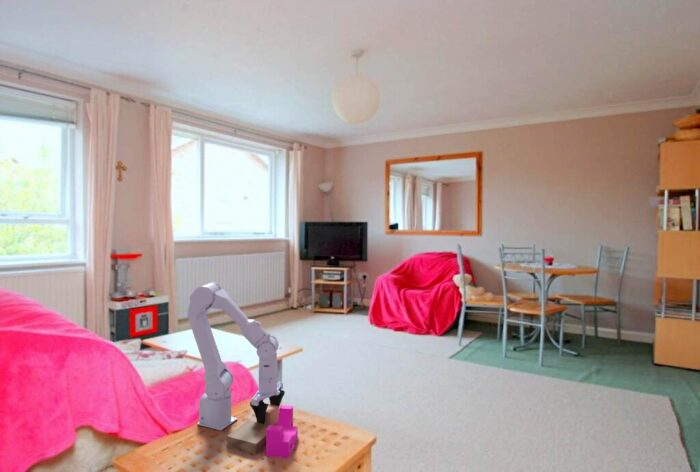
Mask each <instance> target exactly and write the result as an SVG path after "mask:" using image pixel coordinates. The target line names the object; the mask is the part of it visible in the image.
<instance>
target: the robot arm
mask: <svg viewBox="0 0 700 472" xmlns="http://www.w3.org/2000/svg"><path fill="white" fill-rule="evenodd" d="M210 309H212V310H213V309H214V310H222V311H223V312H224V313H225V314H226V315H227V316H228V317H229V318H231V319H232V321H233V322H235V324H237V325H238V326H239V327H240V334H241V335H242V336H243V337H244V338H245V339H246V340H247V342H249V344H250V345H251V346H253V347H254V348H255V349H256V355H257V356H258V390H257V391H256V393H255V394H254V396H253V397H252V398H251V399H250V400H251V401H249V406H250V407H251V409H252V411H253V413H254V415H255V418H256V422H257V423H261V424H265V417H266V411H267V407H268V405H269V404H271V405H276V406H279V407H280V406H281V402H282V400H283V397H284V396H285V393H286V392H285V390H282V389H283V388H284V382H282V381H278V353H277V351H278V349H279V347H280V346H279V341H278V339H277V337H276V336H274V335H271V333H270V332H269V333H268V332H267V331H266V330H265V329H264V328H263V327H262V326H261V325H262V323H261V322H260V321H257V320H256V319H250V318H248V317H247V315H246V314H245V313H244V312H243V310H242V309H241V308H240V307H239V305H237V304H236V302H234V301H233V299H232V298H231V296H229V294H228V292H227V291H226V290H225V289H224V288H222V287H221V285H220V284H218V283H217V282H215V281H211V282H210V281H209V282H207V283H205V284H203V285H202V286H198V287H196V288H195V289H194V291H193V292H192V294H190V296H189V305H188V309H187V319H188V321H189V325H190V327H191V331H192V334H193V337H194V339H195V342H196V346H197V349H198V351H199V355H200V358H201V361H202V364H203V367H204V375H203V380H204V384H205V386H204V393H203V394H202V395H201V397H200V400H199V402H198V422H197V425H198V426H201V427H206V428H209V429H213V430H218V431H223V430H224V429H226V428H227V427H229V426H230V425H231V424H233V423H235V422H236V421H237V420H238V417H235V416H232V390H231V388H230V387H231V385H232V384H233V383H234V375H233V373H232V372H231V371H230V370H229V368H228V367H227V364H226V363H224V362H223V360H222V358H221V355H220V352H219V350H218V346H217V343H216V340H215V337H214V333H213V332H212V328H211V325H210V321H209V319H208V316H207V315H208V313H209V311H210ZM266 399H268V400H269V403H267V402H266V403H265V402H264V400H266Z"/></svg>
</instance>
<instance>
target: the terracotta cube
mask: <svg viewBox="0 0 700 472" xmlns="http://www.w3.org/2000/svg"><path fill="white" fill-rule="evenodd" d="M268 404H269V405H268V407H267V411H266V417H265V425H277V423H278V417H279V408H280V406H276V405H271V404H270V403H268Z"/></svg>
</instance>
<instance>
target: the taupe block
mask: <svg viewBox="0 0 700 472" xmlns="http://www.w3.org/2000/svg"><path fill="white" fill-rule="evenodd" d="M268 426H269V425H265V424H261V423H257V421H254V420H253V421H252V420H247V421H246V422H244V423H243V424H241V425H240V426H238V428H236V429H234V430H233V431H232V432H230V433H228V435H227V436H226V447H227V448H230V449H234V450H238V451H242V452H245V453H249V454H253V455H257V454H259V453H261V451H262V450H264V448H266V430H267V428H268Z"/></svg>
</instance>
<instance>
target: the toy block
mask: <svg viewBox="0 0 700 472" xmlns="http://www.w3.org/2000/svg"><path fill="white" fill-rule="evenodd" d="M298 428H299V427H298V426H294V406H293V405H286V404H285V405H284V404H282V405H281V404H280V406H279V417H278V423H276V424H275V425H269V426H268V428H267V430H266V447H265V449H266V451H265V452H266V453H265V455H266V457H271V456H272V457H274V458H287V459H290V456H291V454H292V451H293V449H294V446H295V445H296V442H297V440H298V434H299V433H298ZM272 457H271V458H272Z"/></svg>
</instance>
